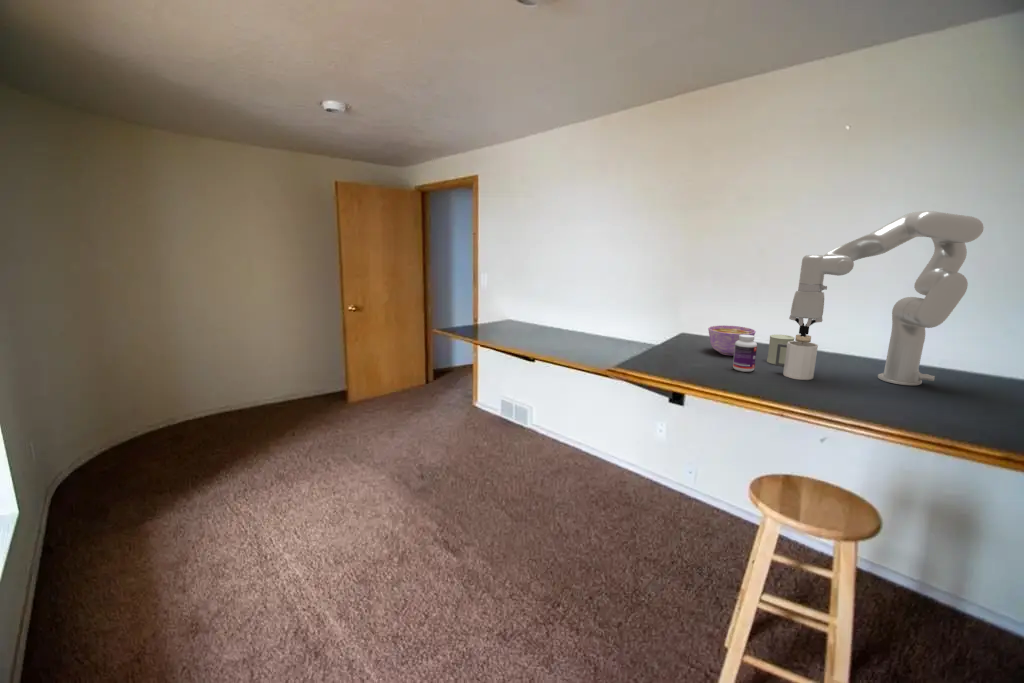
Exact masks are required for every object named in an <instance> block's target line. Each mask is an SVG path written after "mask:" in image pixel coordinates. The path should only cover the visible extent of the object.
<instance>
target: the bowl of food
mask: <svg viewBox="0 0 1024 683" xmlns="http://www.w3.org/2000/svg"><path fill="white" fill-rule="evenodd" d="M707 330H708V335H709V336H708V337H709V341H710V342H709V343H710V345H711V347H712V349H713V350H715V351H717V353H719V354H721V355H724V356H731V357H732V356H733V357H734V351H735V343H736V341H738V340H740V339H739V335H752V336H754V337H755V335H756V332H757V331H756V330H755V329H753V328H750V327H744V326H740V325H739V326H737V325H713V326H708V328H707Z"/></svg>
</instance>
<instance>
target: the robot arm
mask: <svg viewBox="0 0 1024 683" xmlns="http://www.w3.org/2000/svg"><path fill="white" fill-rule="evenodd" d="M984 228H985V227H984V223H983V222H982V221H981V220H980V219H979V218H977V217H974V216H970V215H962V214H956V213H948V212H947V213H946V212H940V211H934V210H923V211H914V212H913V211H912V212H909V213H907V214H905V215H902V216H900V217H898V218H896V219H895V220H893V221H891V222H890V223H887V224H886V225H884V226H881V227H880V228H878V229H876V230H874V231H872V232H870V233H869V234H866V235H862V236H861V237H858V238H857V239H854V240H851V241H849V242H846V243H844V244H842V245H840V246H838V247H836V248H833V250H830V251H828V252H827V253H825V254H823V255H822V254H806V255H804V256H803V257H802V260H801V266H800V267H801V268H800V274H799V280H798V287H797V288H798V289H797V290H796V291H795V292H794V296H793V300H792V303H791V309H790V316H789V318H788V319H789V320H791V321H793V322H794V321H795V322H796V323H797V324H798V326H799V329H798V335H800V336H804V337H805V336H806V335H809V331H810V327H811V326H812V325H813V324H815V323H816V324H817V323H822V322H823V321H824V320H823V314H824V309H825V308H824V307H825V292H823V291H824V290H827V289H828V286H827V285H824V279H825V275H828V276H831V275H832V276H844V275H847V274H849V273H850V272H852V270H853V269H854V266H855V264H854V262H855V261H857V260H858V261H859V260H860V259H864V258H870V257H875V256H876V257H877V256H878V255H883V254H885V253H888V252H889V251H892V250H893V249H895V248H897V247H899V246H900V245H903V244H904V243H906V242H909V241H911V240H912V239H914V238H918V237H920V238H931V240H932V242H933V245H934V246H933V247H934V252H933V254H932V256H931V258H930V260H929V261H928V263H927V264H926V265H925V267H924V268H923V269H922V271H921V273H920V274H919V275H918V277H917V279H915V282H914V291H916V293H918V294H919V295H923V296H925V297H924V298H922V297H916V296H907V297H903V298H900V299H899V300H898V301H897V302H895V304H894V305H893V306H892V310H891V318H892V319H891V320H892V321H891V333H890V339H889V343H888V348H887V349H888V350H887V353H886V354H887V355H886V359H885V364H884V371H883V372H882V373H878V374H877V378H878V379H879V380H881V381H883V382H886V383H891V384H895V385H900V386H920V385H922V383H923V380H924V381H929V382H934V381H935V377H936V376H935V375H930V374H928V373H922V372H920V369H919V368H920V364H921V359H922V355H923V349H924V345H925V341H926V340H925V339H926V329H932V328H936V327H938V326H941V324H943V323H944V322H945V321H946V320H947V319H948V318H949V316H950V315H951V314H952V312H953V310H955V308H956V307H957V305H958V304H960V301H961V300H962V298H963V297H964V296H965V294H966V293H967V290H968V286H969V283H968V279H967V278H966V276H965V275H964V274H962V273H960V272H959V270H960V269H961V267H962V266H963V264H964V263H965V260H966V258H967V253H968V252H967V246H966V243H971V242H973V241H975V240H977V239H978V238H979V237H980V236H981V235H982V234H983V233H984ZM804 319H807V321H806V323H804Z"/></svg>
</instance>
